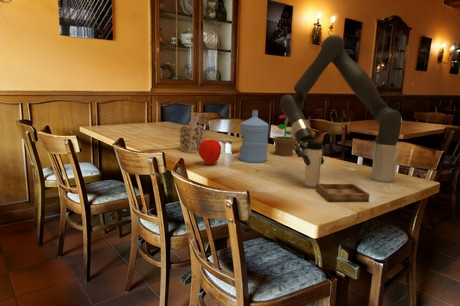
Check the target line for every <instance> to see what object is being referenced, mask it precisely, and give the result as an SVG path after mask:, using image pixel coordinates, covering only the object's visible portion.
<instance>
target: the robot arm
mask: <svg viewBox="0 0 460 306" xmlns="http://www.w3.org/2000/svg"><path fill="white" fill-rule="evenodd" d="M320 47H321V48H320V51H319V53H318V54H317V55H316V58H315V59H314V60H313V62H312V63H311V64H310V65H309V66H308V68H307V69H306V70H305V71H304V72H303V74H302V75H301V76H300V78H299V79H298V80H297V82H296V83H295V85H294V86H293V90H294V92H295V93H294V96H293V95H292V94H284V95H283V96H281V98H280V107H281V108H282V109H281V111H282V110H283V111H284V113H283V114H284V115H286V116H287V117H288V119H289V121H288V123H289V125H290V126H291V129H292V134H293V135H294V136H293V137H294V138H296V143H294V146H293V151H294V152H295V154H296V156H297V157H298V158H301V159H302V160H303V162H304V164H305V166H306V165H309V164H310V161H309V158H308V156H306V155H307V140H309V141H315V138H314V137H315V135H313V132H312V130H311V127H310V124H309V123H308V121H307V119H306V117H305V116H304V113H303V112H302V111H301V109H302V107H303V106H304V102H305V101H306V97H307V95H308V94H309V93H310V91H311V90H312V88H313V87H314V86H315V84H316V83H317V81H318V79H319V78H320V77H321V76H322V74H323V73H324V72H325V70H326V69H327V67H328V66H329V65H330V64H331V63H332V64H333V65H334V66H335V67H336V69H337V70H338V72H339V74H340V75H341V77H342V78H343V79H344V81H345V82H346V84H347V85H348V87H349V88H350V89H351V90H352V92H353V93H354V95H356V97H357V98H358V99H359V100H360V101H361V103H363V104H364V105H365V106H366V108H367V109H368V111H369V113H370V114H371V116H372V117H373V119H374V120H375V122H376V124H377V125H378V133H377V135H376V137H375V141H374V151H373V158H372V159H373V160H372V168H371V176H370V178H371V180H373V181H376V182H381V183H382V182H383V183H390V182H395V176H396V168H397V160H396V153H397V147H398V146H397V145H398V140H400V139H399V138H400V133H401V128H402V123H403V122H402V121H403V120H402V115H401V113H400V112H399V111H398V110H395V109H392V108H391V107H390V106H389V105H387V103H386V102H385V101H384V100H383V99H382V97H381V95H380V94H379V91H378V88H377V86H376V84H375V82H374V81H373V79H372V78H371V77H370V75H369V74H368V73H367V71H365V70H364V68H362V66H360V65H359V64H358V63H357V62H355V61H354V60H353V59H352V58H351V57H350V55H349V54H348V52H347V51H346V49H345V41H344V39H343V38H342V36H341V35H338V34H332V35H329V36H327V37H326V38H325V39H324V40H323V41H322V43H321V46H320ZM283 111H282V112H283ZM319 142H320V143H321V144H322V156H321V166H322V165H324V163H325V159H324V157H323V156H324V154H326V151H325V146H324V145H323V142H322V141H319Z"/></svg>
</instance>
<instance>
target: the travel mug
mask: <svg viewBox="0 0 460 306" xmlns="http://www.w3.org/2000/svg"><path fill="white" fill-rule="evenodd" d="M320 142H321V141H315V140H314V141H309V140H307V155H306V156H308V158H309V161H310V164H309V165H306V164H305V171H304V184H303V186H304V187H306V188H308V189H316V184H320V181H321V180H320V179H321V168H322V167H321V166H322V165H321V156H322V144H323V143H322V144H321V143H320Z"/></svg>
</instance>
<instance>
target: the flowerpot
mask: <svg viewBox="0 0 460 306" xmlns="http://www.w3.org/2000/svg"><path fill="white" fill-rule="evenodd" d="M281 111H282V114H281V115H279V116H278V118H279V119H281V120H282V119H284V122H283V124H282V123H281V124H278V126H277V128H278V129H279V130H284V136H274V137H273V140H272V142H274V147H275V148H274V149H275V155H276V156H278V157H279V156H280V157H293V153H294V148H293V146H294V144H295V143H297V141H296V138H295V136H290V135H293V131H292V132H291V131H290V130H287V128H288V127H287V126H288V124H289V119H288V117H287V116H286V115H285V113H284V111H283V110H282V108H281ZM287 135H289V136H287Z"/></svg>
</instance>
